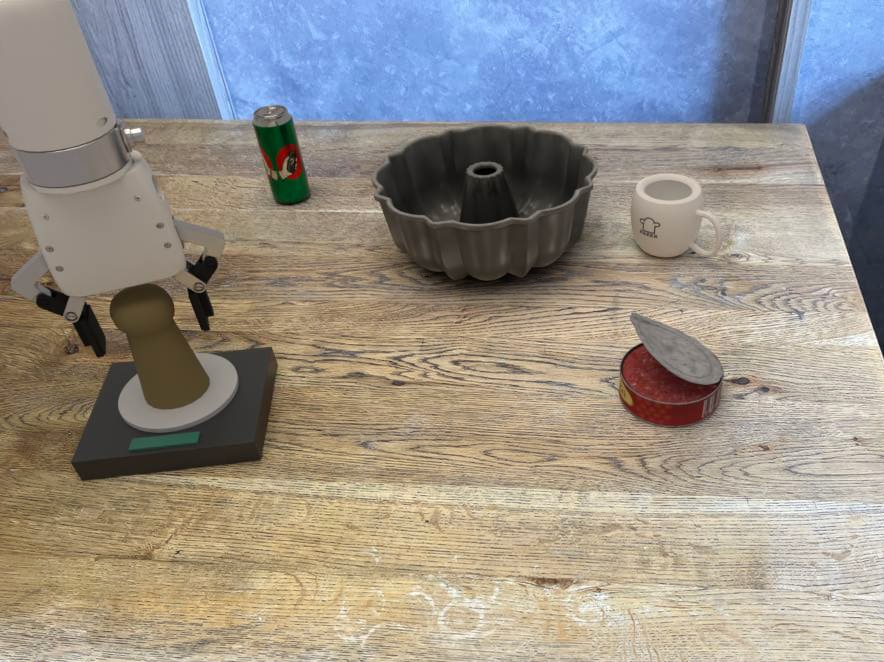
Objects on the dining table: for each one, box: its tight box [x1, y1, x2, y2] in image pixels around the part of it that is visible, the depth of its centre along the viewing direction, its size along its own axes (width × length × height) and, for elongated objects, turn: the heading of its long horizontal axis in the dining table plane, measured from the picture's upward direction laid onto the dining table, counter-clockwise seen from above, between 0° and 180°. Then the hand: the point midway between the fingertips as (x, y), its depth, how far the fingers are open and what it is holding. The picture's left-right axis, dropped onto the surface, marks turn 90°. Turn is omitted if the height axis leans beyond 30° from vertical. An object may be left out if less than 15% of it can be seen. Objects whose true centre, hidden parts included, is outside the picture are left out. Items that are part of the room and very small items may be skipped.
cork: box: [108, 282, 210, 410], centre depth 75 cm, size 6×6×11 cm
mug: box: [630, 173, 723, 258], centre depth 96 cm, size 12×8×8 cm
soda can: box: [252, 104, 311, 205], centre depth 108 cm, size 5×5×12 cm
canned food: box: [618, 312, 725, 428], centre depth 78 cm, size 11×10×10 cm
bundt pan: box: [370, 123, 599, 281], centre depth 98 cm, size 26×26×10 cm
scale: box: [70, 346, 278, 481], centre depth 78 cm, size 16×14×3 cm
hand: (154, 334), depth 74 cm, fingers open, 8 cm apart
